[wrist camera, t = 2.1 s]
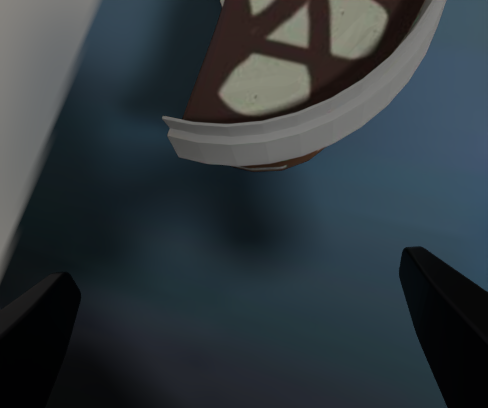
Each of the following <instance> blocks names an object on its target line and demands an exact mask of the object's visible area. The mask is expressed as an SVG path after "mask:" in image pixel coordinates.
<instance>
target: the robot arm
mask: <svg viewBox="0 0 488 408" xmlns="http://www.w3.org/2000/svg"><path fill="white" fill-rule="evenodd" d="M399 277H400V281H401V285H402V288H403V291H404V295H405V298H406V301H407V305H408V308H409V311H410V315H411V318H412V321H413V325H414V328H415V331H416V334H417V337H418V339H419V342H420V344H421V347H422V349H423V351H424V354H425V356H426V358H427V361H428V363H429V365H430V368H431V370H432V372H433V375H434V377H435V379H436V382H437V384H438V386H439V389H440V391H441V393H442V396H443V398H444V400H445V403H446V405H447V407H448V408H488V292H487V291H485V290H484V289H482V288H481V287H480V286H478V285H477V284H475V283H474V282H472V281H471V280H469V279H468V278H467V277H465V276H464V275H462V274H461V273H459V272H458V271H456V270H455V269H454V268H452V267H451V266H449V265H448V264H446V263H445V262H444V261H442V260H441V259H439V258H438V257H436V256H435V255H433V254H432V253H431V252H429V251H428V250H426V249H425V248H423V247H420V246H416V247H406V248H404V249H403V252H402V257H401V262H400V268H399ZM80 301H81V293H80V290H79V288H78V286H77V285H76V283H75V281H74V280H73V278H72V276H71V275H70V274H69V273H68V272H56V273H52V274H50V275H49V276H47V277H46V278H45V279H43V280H42V281H40V282H39V283H38V284H36V285H35V286H34V287H32V288H31V289H29V290H28V291H27V292H25V293H24V294H23V295H21V296H20V297H18V298H17V299H16V300H14V301H13V302H11V303H10V304H9V305H7V306H6V307H5V308H3V309H2V310H0V408H45V406H46V403H47V401H48V398H49V396H50V393H51V390H52V388H53V385H54V383H55V380H56V378H57V375H58V372H59V370H60V367H61V365H62V362H63V359H64V356H65V354H66V351H67V347H68V344H69V341H70V337H71V334H72V330H73V326H74V323H75V319H76V315H77V312H78V308H79V304H80Z"/></svg>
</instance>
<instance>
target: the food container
mask: <svg viewBox="0 0 488 408" xmlns="http://www.w3.org/2000/svg"><path fill="white" fill-rule="evenodd" d="M445 2H446V0H224V4H223V7H222V10H221V13H220V16H219V19H218V22H217V25H216V28H215V31H214V34H213V37H212V39H211V42H210V45H209V48H208V50H207V53H206V56H205V58H204V61H203V64H202V67H201V69H200V72H199V75H198V77H197V80H196V83H195V86H194V88H193V91H192V94H191V96H190V99H189V102H188V104H187V107H186V110H185V113H184V115H183V118H182V119H177V118H172V117H168V116H163V117H162V119H163V120H164V122H165V123H166V124H167V125H168V126H169V127H170V129H169V132H168V134H167V136H168V138H169V140H170V142H171V144H172V146H173V147H174V149H175V151H176V153H177V155H178V157H179V158H184V159H188V160H192V161H197V162H201V163H205V164H215V165H228V166H232V167H234V168H239V169H243V170H247V171H251V172H261V171H282V170H284V169H287V168H290V167H293V166H295V165H298V164H301V163H304V162H306V161H309V160H310V159H311V158H313V157H314V156H315V155H316V154H318V153H319V152H320V151H322V150H323V149H324V148H325V147H327V146H329V145H331V144H333V143H335V142H337V141H338V140H340V139H342V138H344V137H345V136H347V135H349V134H350V133H352V132H354V131H355V130H357V129H359V128H361V127H362V126H363V125H364V124H366V123H367V122H368V121H369V120H370V119H372V118H373V117H374V116H375V115H376V114H378V113H379V112H380V111H381V110H383V109H384V108H385V107H386V106H387V105H388V104H389V103H390V102H391V101H392V100H393V98H394V97H395V96H396V95H397V94H398V93H399V92H400V91H401V89H402V88H403V87H404V86H405V85H406V84H407V83H408V81H409V80H410V78H411V77H412V75H413V74H414V72H415V70H416V69H417V67H418V66H419V64H420V62H421V61H422V59H423V58H424V56H425V54H426V52H427V50H428V47H429V45H430V43H431V40H432V38H433V35H434V33H435V31H436V28H437V26H438V23H439V20H440V17H441V14H442V11H443V8H444V5H445Z"/></svg>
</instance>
